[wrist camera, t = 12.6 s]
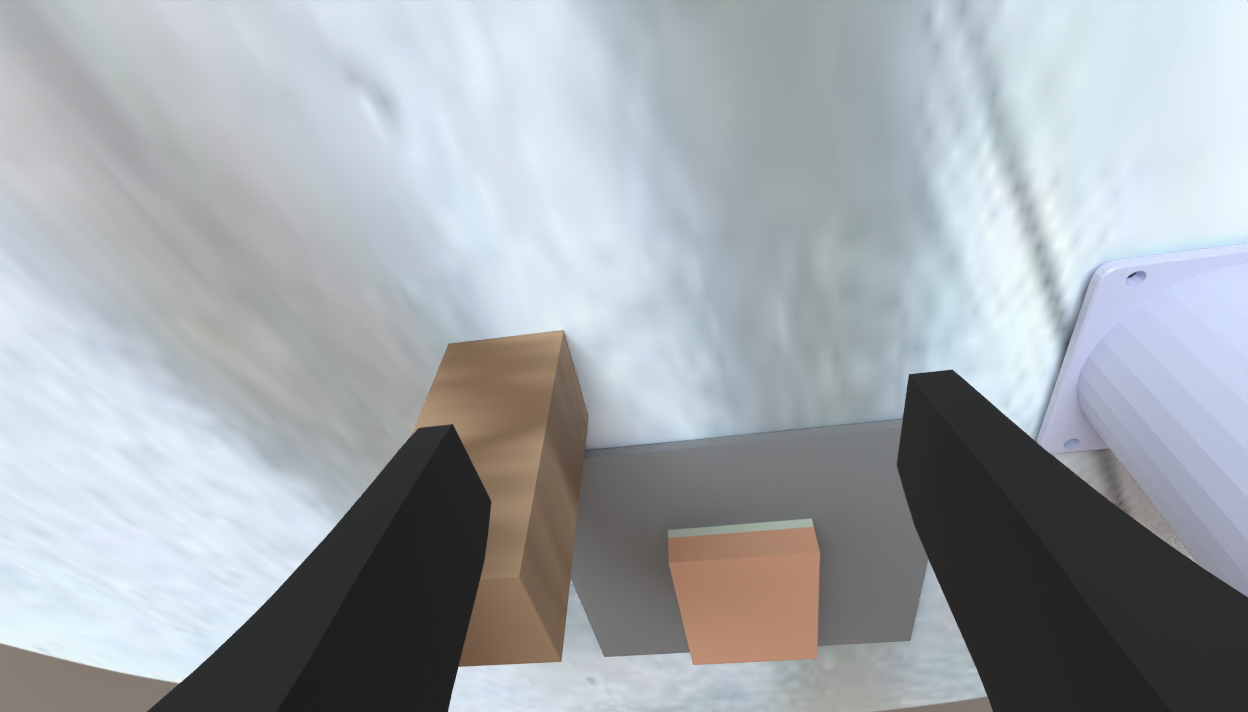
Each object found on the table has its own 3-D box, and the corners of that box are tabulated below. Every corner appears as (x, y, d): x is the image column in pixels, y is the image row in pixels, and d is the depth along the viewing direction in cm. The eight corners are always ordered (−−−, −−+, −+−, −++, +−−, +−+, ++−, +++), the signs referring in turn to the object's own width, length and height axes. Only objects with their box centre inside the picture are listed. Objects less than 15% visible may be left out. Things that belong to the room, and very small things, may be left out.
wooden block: (563, 330, 21) (518, 577, 14) (588, 415, 23) (561, 662, 16) (448, 343, 21) (349, 587, 14) (484, 425, 24) (415, 668, 17)
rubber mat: (953, 413, 22) (957, 422, 22) (907, 633, 32) (910, 640, 32) (524, 456, 25) (523, 464, 24) (604, 649, 34) (604, 656, 34)
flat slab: (819, 552, 25) (816, 658, 30) (811, 518, 26) (810, 626, 31) (668, 563, 25) (693, 664, 31) (667, 529, 27) (691, 633, 32)
